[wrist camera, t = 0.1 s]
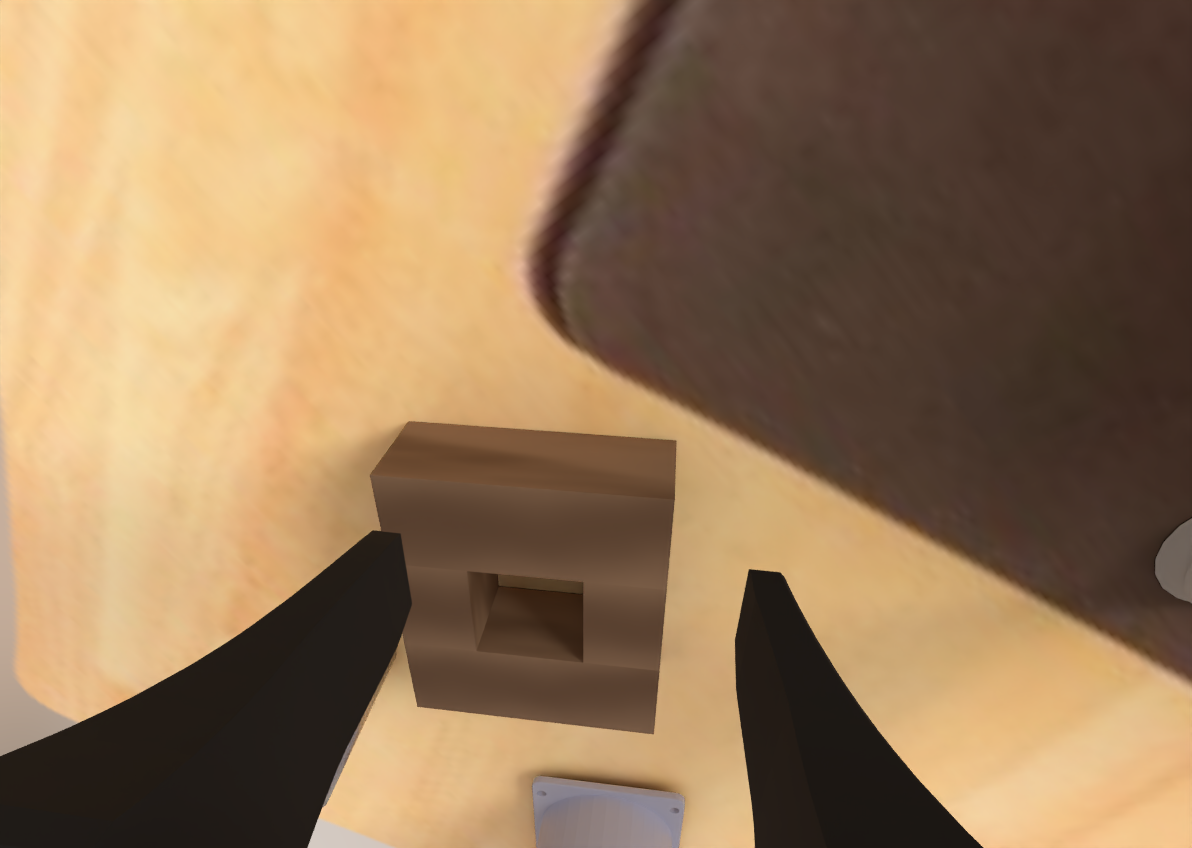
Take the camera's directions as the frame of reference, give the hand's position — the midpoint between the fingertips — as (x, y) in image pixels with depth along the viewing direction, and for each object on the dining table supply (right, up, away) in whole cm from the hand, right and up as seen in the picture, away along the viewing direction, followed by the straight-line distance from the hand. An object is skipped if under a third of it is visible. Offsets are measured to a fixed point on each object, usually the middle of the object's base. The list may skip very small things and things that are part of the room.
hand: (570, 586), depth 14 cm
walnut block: (-2, -2, +14) cm, 14 cm away
